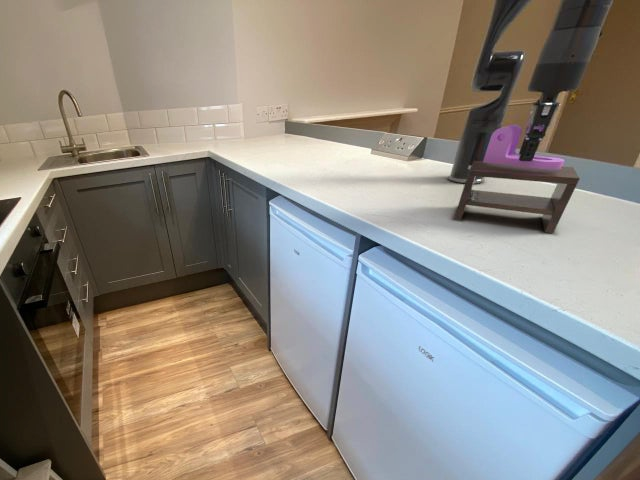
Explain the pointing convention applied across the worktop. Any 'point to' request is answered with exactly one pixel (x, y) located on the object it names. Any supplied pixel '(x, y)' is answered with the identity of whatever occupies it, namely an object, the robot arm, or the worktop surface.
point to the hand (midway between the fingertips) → (524, 157)
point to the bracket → (504, 151)
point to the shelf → (521, 203)
